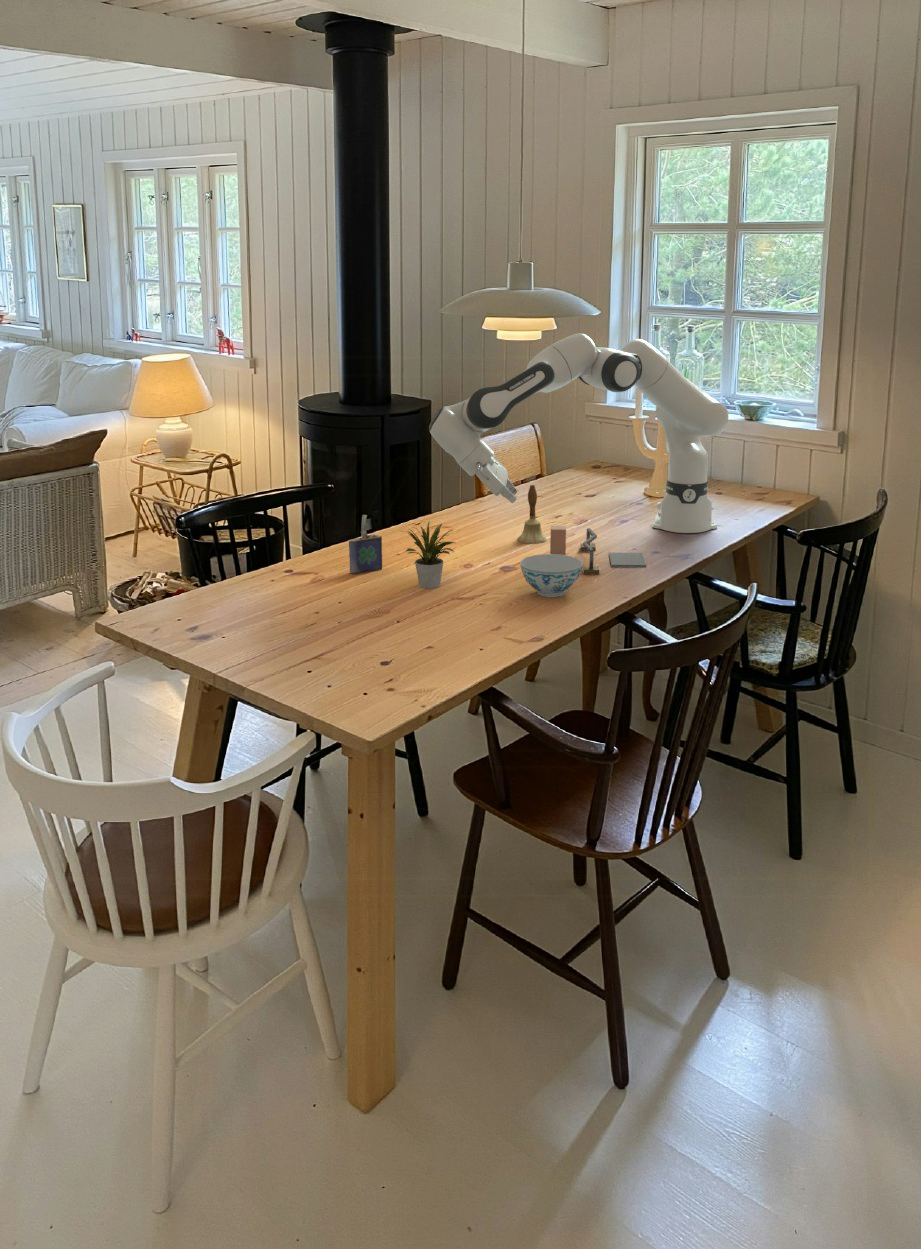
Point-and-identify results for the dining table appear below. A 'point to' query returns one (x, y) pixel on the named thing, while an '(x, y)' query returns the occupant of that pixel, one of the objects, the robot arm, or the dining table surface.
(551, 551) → the brick block
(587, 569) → the zigzag wire
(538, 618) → the dining table surface
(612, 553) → the slate tile
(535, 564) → the chinaware
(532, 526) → the hand bell
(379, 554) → the flask
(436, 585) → the house plant
